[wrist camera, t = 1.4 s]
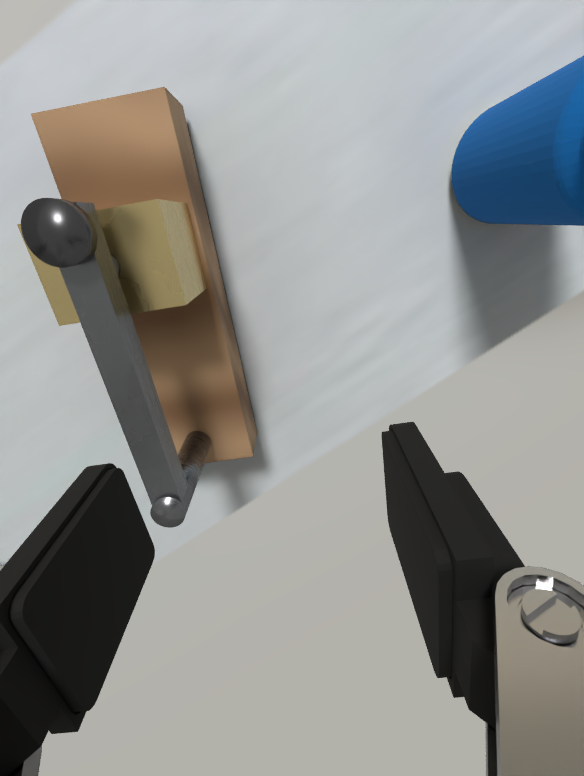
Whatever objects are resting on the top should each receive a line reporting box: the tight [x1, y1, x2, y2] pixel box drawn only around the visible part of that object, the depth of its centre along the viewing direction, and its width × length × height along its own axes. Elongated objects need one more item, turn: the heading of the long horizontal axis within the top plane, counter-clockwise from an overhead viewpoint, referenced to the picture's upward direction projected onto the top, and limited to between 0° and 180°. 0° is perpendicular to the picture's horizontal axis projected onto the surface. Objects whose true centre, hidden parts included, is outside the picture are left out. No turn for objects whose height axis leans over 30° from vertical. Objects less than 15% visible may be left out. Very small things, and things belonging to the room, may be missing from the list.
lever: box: [21, 198, 211, 527], centre depth 20 cm, size 16×2×8 cm, turn 9°
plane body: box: [31, 87, 257, 463], centre depth 25 cm, size 23×7×4 cm, turn 9°
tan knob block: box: [18, 199, 207, 326], centre depth 20 cm, size 5×6×5 cm
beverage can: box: [451, 56, 584, 226], centre depth 18 cm, size 6×6×12 cm
